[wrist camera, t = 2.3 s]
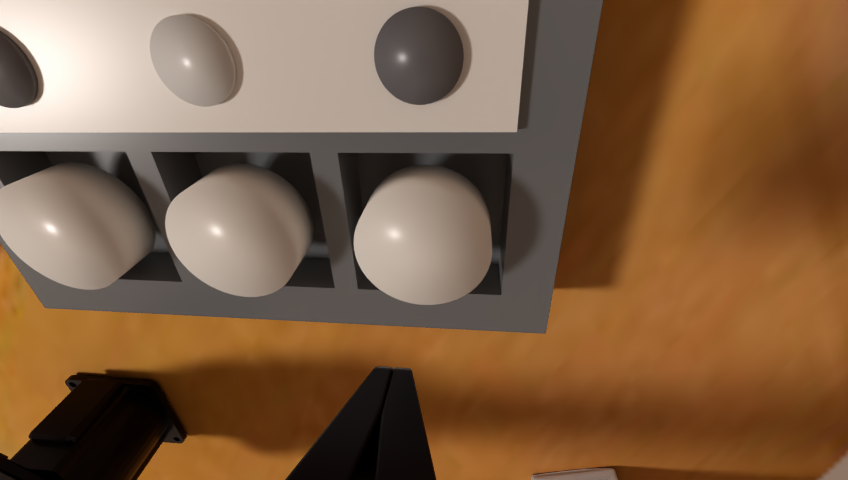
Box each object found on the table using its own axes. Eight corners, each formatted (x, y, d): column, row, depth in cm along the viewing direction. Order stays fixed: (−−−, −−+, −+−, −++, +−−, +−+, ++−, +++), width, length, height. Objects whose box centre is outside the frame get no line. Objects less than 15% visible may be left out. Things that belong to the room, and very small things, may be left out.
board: (536, 289, 20) (547, 342, 17) (93, 272, 22) (35, 314, 19) (587, -66, 12) (623, -84, 10) (-80, -32, 15) (-216, -38, 12)
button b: (322, 269, 17) (306, 299, 16) (218, 265, 18) (191, 294, 16) (301, 163, 15) (279, 185, 13) (180, 162, 15) (144, 183, 14)
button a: (487, 275, 17) (488, 307, 15) (372, 271, 17) (361, 302, 15) (494, 165, 14) (496, 189, 12) (359, 164, 15) (344, 186, 13)
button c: (172, 264, 18) (140, 292, 16) (75, 260, 19) (35, 287, 17) (127, 162, 16) (85, 183, 14) (17, 161, 16) (-37, 181, 14)
